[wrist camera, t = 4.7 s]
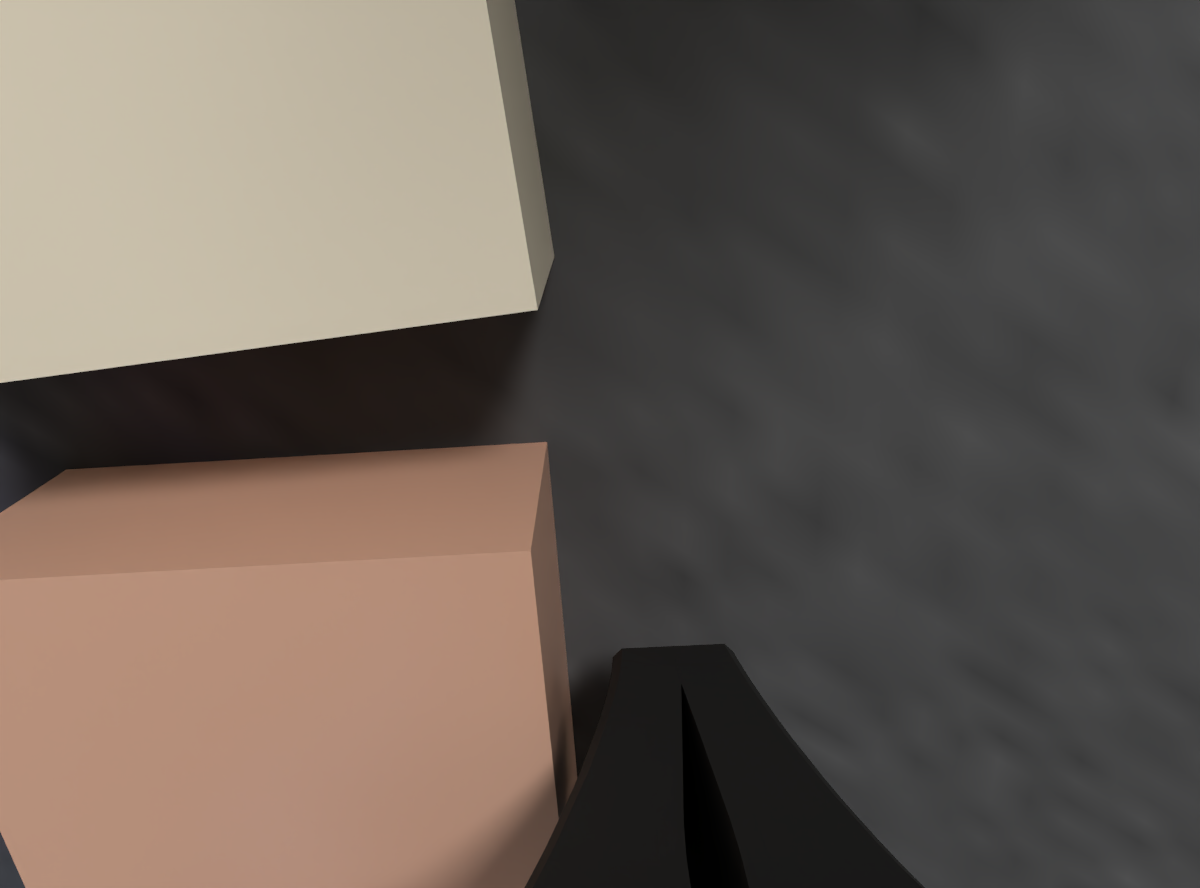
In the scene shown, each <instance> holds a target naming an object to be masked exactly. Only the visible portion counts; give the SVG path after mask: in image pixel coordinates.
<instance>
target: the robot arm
mask: <svg viewBox="0 0 1200 888" xmlns="http://www.w3.org/2000/svg"><path fill="white" fill-rule="evenodd" d="M524 888H924V887H923V886H922V885H921V884H920V883H919V882H918V881H917V880H916V879H915V878H914V877H913V876H912V875H911V874H910V873H909V872H908V871H907V870H906V869H905V867H904V866H903V865H902V864H901V863H900V862H899V861H898V860H897V859H896V858H895V857H894V856H893V855H892V854H891V853H890V852H889V851H888V850H887V849H886V848H885V847H884V846H883V844H882V843H881V842H880V841H879V840H878V839H877V838H876V837H875V836H874V835H873V834H872V832H871V831H870V830H869V829H868V828H867V827H866V826H865V825H864V824H863V822H862V821H861V820H860V819H859V818H858V817H857V816H856V815H855V814H854V812H853V811H852V810H851V809H850V808H849V807H848V806H847V805H846V804H845V802H844V801H843V800H842V799H841V798H840V796H839V795H838V794H837V793H836V792H835V791H834V789H833V788H832V787H831V786H830V785H829V784H828V782H827V781H826V780H825V779H824V778H823V776H822V775H821V774H820V773H819V771H818V770H817V769H816V768H815V766H814V765H813V764H812V763H811V761H810V760H809V759H808V758H807V756H806V755H805V754H804V753H803V751H802V750H801V749H800V748H799V746H798V745H797V744H796V743H795V741H794V740H793V739H792V737H791V736H790V735H789V733H788V732H787V731H786V729H785V728H784V727H783V726H782V724H781V723H780V722H779V720H778V719H777V717H776V716H775V715H774V713H773V712H772V710H771V709H770V708H769V706H768V705H767V703H766V702H765V701H764V699H763V698H762V696H761V695H760V693H759V692H758V690H757V689H756V688H755V686H754V685H753V683H752V682H751V680H750V678H749V677H748V675H747V674H746V672H745V671H744V669H743V668H742V666H741V664H740V663H739V661H738V659H737V658H736V656H735V654H734V652H733V651H732V650H730V649H729V648H728V647H727V646H726V645H725V644H714V645H692V646H670V647H648V648H626V649H621V650H620V651H619V652H618V653H617V654H616V655H615V656H614V657H613V663H612V673H611V678H610V683H609V688H608V692H607V696H606V699H605V703H604V706H603V709H602V713H601V716H600V719H599V722H598V725H597V728H596V731H595V734H594V737H593V739H592V742H591V744H590V747H589V750H588V752H587V755H586V758H585V760H584V763H583V765H582V768H581V771H580V773H579V776H578V778H577V781H576V783H575V785H574V788H573V790H572V792H571V794H570V796H569V799H568V801H567V803H566V805H565V807H564V809H563V811H562V814H561V816H560V818H559V820H558V822H557V824H556V826H555V829H554V831H553V833H552V835H551V837H550V839H549V841H548V844H547V846H546V848H545V850H544V852H543V854H542V855H541V857H540V859H539V861H538V863H537V865H536V867H535V869H534V871H533V873H532V875H531V876H530V878H529V880H528V882H527V884H526V886H525V887H524Z"/></svg>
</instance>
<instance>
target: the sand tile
mask: <svg viewBox="0 0 1200 888" xmlns="http://www.w3.org/2000/svg"><path fill="white" fill-rule="evenodd" d="M553 259H554V251H553V245H552V238H551V232H550V225H549V219H548V213H547V206H546V200H545V193H544V187H543V180H542V174H541V167H540V161H539V155H538V148H537V142H536V135H535V129H534V122H533V116H532V109H531V103H530V96H529V90H528V84H527V77H526V71H525V64H524V58H523V51H522V45H521V38H520V32H519V26H518V19H517V13H516V6H515V0H0V383H3V382H11V381H18V380H25V379H33V378H40V377H48V376H55V375H62V374H70V373H77V372H84V371H92V370H99V369H107V368H114V367H121V366H129V365H136V364H143V363H151V362H158V361H166V360H173V359H180V358H188V357H195V356H202V355H210V354H217V353H224V352H232V351H239V350H247V349H254V348H261V347H269V346H276V345H283V344H291V343H298V342H306V341H313V340H320V339H328V338H335V337H342V336H350V335H357V334H365V333H372V332H379V331H387V330H394V329H401V328H409V327H416V326H424V325H431V324H438V323H446V322H453V321H460V320H468V319H475V318H482V317H490V316H497V315H505V314H512V313H519V312H527V311H534V310H538V308H539V304H540V301H541V298H542V295H543V291H544V288H545V285H546V282H547V279H548V275H549V272H550V269H551V266H552V263H553Z"/></svg>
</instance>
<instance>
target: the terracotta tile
mask: <svg viewBox="0 0 1200 888" xmlns="http://www.w3.org/2000/svg"><path fill="white" fill-rule="evenodd" d="M576 781H577V767H576V756H575V745H574V734H573V723H572V712H571V701H570V690H569V679H568V668H567V657H566V646H565V635H564V624H563V612H562V601H561V590H560V579H559V568H558V557H557V546H556V535H555V524H554V513H553V502H552V491H551V480H550V469H549V458H548V447H547V442H538V443H521V444H503V445H486V446H469V447H451V448H434V449H416V450H399V451H381V452H364V453H346V454H329V455H312V456H294V457H277V458H259V459H242V460H224V461H207V462H189V463H172V464H155V465H137V466H120V467H102V468H85V469H67V470H65V471H63V472H62V473H60V474H59V475H57V476H56V477H54V478H53V479H51V480H50V481H48V482H47V483H45V484H44V485H42V486H41V487H39V488H38V489H36V490H35V491H33V492H32V493H30V494H28V495H27V496H25V497H24V498H22V499H21V500H19V501H18V502H16V503H15V504H13V505H12V506H10V507H9V508H7V509H6V510H4V511H3V512H1V513H0V832H1V834H2V836H3V838H4V841H5V843H6V845H7V847H8V850H9V852H10V854H11V856H12V858H13V861H14V863H15V865H16V867H17V870H18V872H19V874H20V876H21V878H22V881H23V883H24V885H25V887H26V888H524V887H525V886H526V884H527V882H528V880H529V878H530V876H531V875H532V873H533V871H534V869H535V867H536V865H537V863H538V861H539V859H540V857H541V855H542V854H543V852H544V850H545V848H546V846H547V844H548V841H549V839H550V837H551V835H552V833H553V831H554V829H555V826H556V824H557V822H558V820H559V818H560V816H561V814H562V811H563V809H564V807H565V805H566V803H567V801H568V799H569V796H570V794H571V792H572V790H573V788H574V785H575V783H576Z"/></svg>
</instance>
